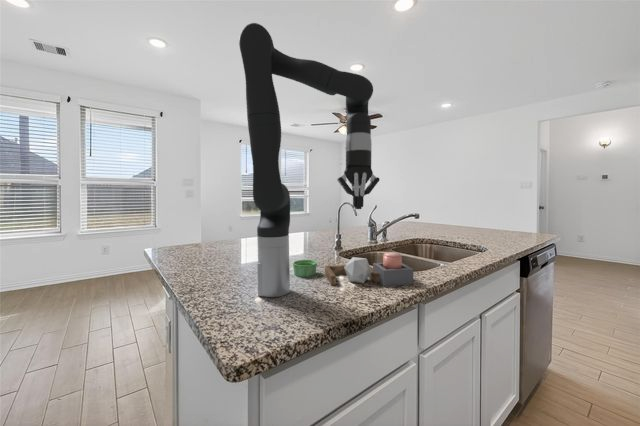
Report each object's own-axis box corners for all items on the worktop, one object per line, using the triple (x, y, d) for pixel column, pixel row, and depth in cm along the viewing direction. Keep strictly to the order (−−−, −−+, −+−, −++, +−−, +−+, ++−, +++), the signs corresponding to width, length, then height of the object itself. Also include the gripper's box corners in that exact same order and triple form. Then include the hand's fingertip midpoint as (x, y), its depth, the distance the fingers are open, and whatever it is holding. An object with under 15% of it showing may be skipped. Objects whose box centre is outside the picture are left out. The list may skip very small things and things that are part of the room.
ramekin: (299, 279, 97) (299, 266, 97) (289, 273, 105) (288, 261, 105) (321, 275, 102) (321, 263, 101) (310, 269, 109) (309, 258, 109)
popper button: (387, 273, 90) (387, 256, 90) (380, 268, 96) (380, 252, 96) (404, 272, 91) (404, 255, 91) (396, 267, 97) (397, 251, 96)
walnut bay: (331, 285, 89) (331, 276, 89) (324, 273, 103) (324, 265, 103) (379, 282, 92) (379, 273, 92) (366, 271, 105) (366, 263, 105)
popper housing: (383, 286, 88) (383, 270, 88) (372, 277, 98) (372, 263, 97) (413, 284, 89) (413, 269, 89) (399, 275, 99) (399, 261, 99)
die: (353, 288, 88) (372, 264, 87) (335, 271, 93) (352, 248, 92) (363, 290, 95) (380, 268, 94) (345, 274, 100) (361, 253, 99)
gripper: (339, 147, 78) (339, 209, 79) (384, 148, 80) (383, 209, 81) (334, 152, 85) (334, 208, 86) (375, 152, 87) (375, 208, 88)
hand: (358, 208), depth 84 cm, fingers closed
